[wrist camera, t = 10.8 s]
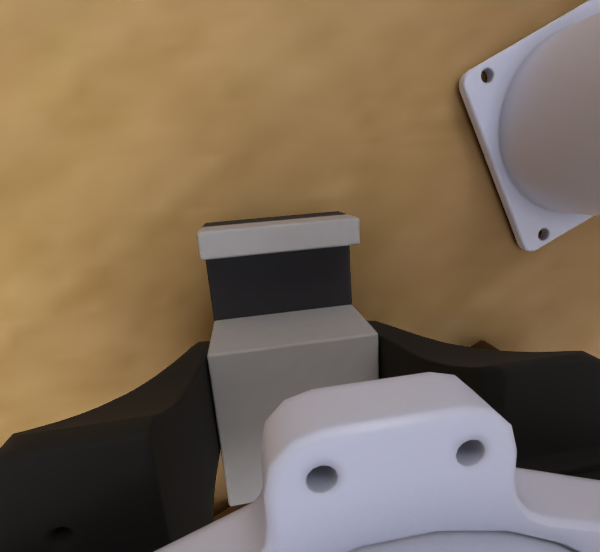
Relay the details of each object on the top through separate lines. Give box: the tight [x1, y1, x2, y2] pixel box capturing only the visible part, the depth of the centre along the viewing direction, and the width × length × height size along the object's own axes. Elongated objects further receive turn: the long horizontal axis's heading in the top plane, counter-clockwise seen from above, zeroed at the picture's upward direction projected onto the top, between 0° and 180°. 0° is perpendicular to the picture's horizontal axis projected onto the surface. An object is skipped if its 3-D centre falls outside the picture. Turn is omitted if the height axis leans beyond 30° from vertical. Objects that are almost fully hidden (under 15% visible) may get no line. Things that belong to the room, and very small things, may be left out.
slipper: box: [197, 211, 379, 506], centre depth 12 cm, size 8×5×4 cm, turn 4°
